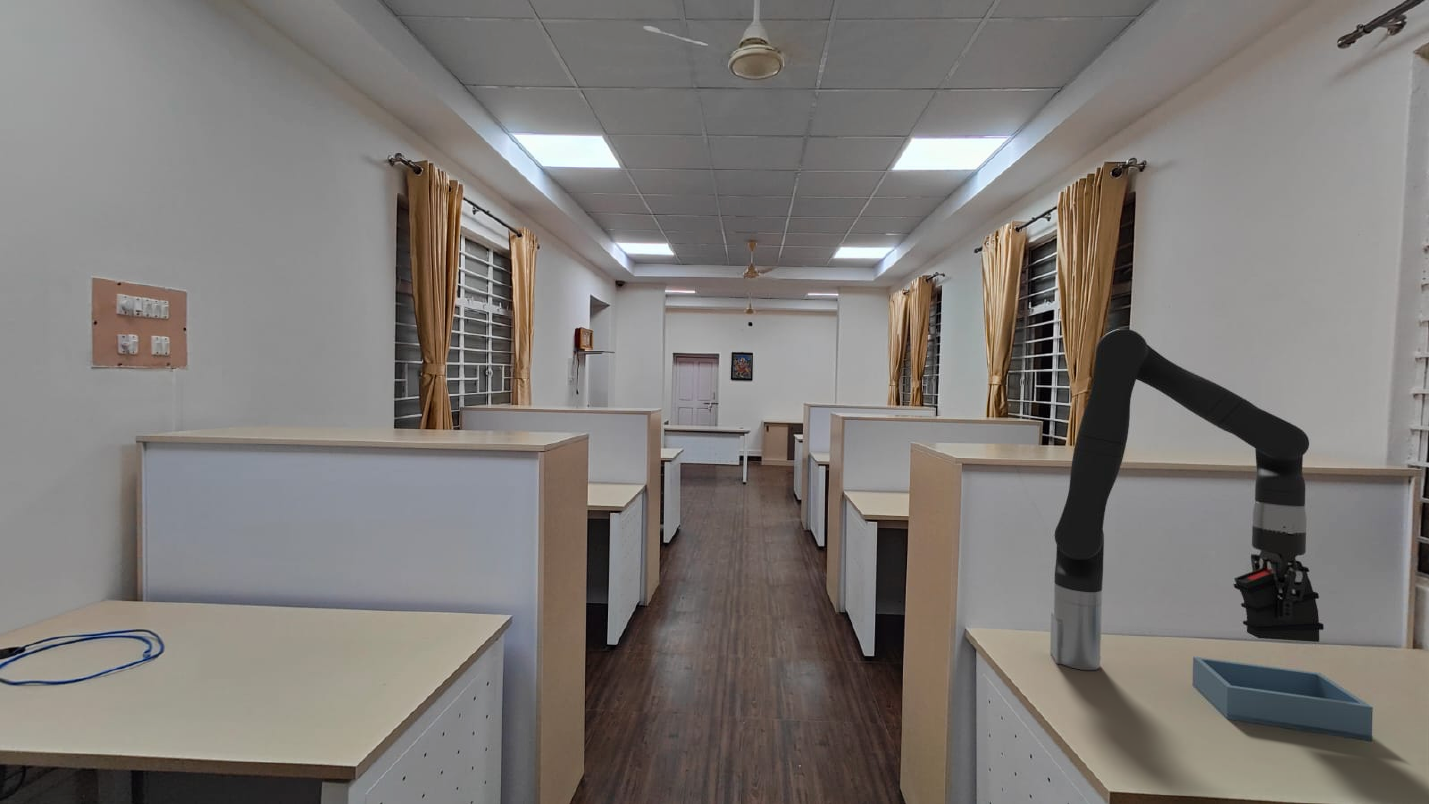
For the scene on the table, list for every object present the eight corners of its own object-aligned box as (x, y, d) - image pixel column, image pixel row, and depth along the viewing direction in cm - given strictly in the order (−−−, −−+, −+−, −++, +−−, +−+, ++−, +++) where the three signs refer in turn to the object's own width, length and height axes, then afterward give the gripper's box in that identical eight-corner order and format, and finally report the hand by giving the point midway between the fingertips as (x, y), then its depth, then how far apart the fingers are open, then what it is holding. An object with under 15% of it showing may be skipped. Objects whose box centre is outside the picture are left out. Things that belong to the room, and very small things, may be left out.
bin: (1226, 718, 111) (1227, 687, 111) (1192, 685, 124) (1193, 656, 124) (1371, 741, 104) (1372, 707, 104) (1319, 703, 118) (1319, 673, 118)
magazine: (1341, 635, 111) (1305, 561, 112) (1271, 661, 113) (1235, 588, 113) (1323, 628, 115) (1288, 556, 116) (1255, 653, 116) (1221, 582, 117)
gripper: (1235, 518, 122) (1233, 601, 122) (1276, 532, 109) (1273, 625, 109) (1280, 521, 120) (1278, 605, 120) (1328, 536, 106) (1325, 631, 106)
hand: (1276, 614), depth 114 cm, fingers closed on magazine, 4 cm apart
